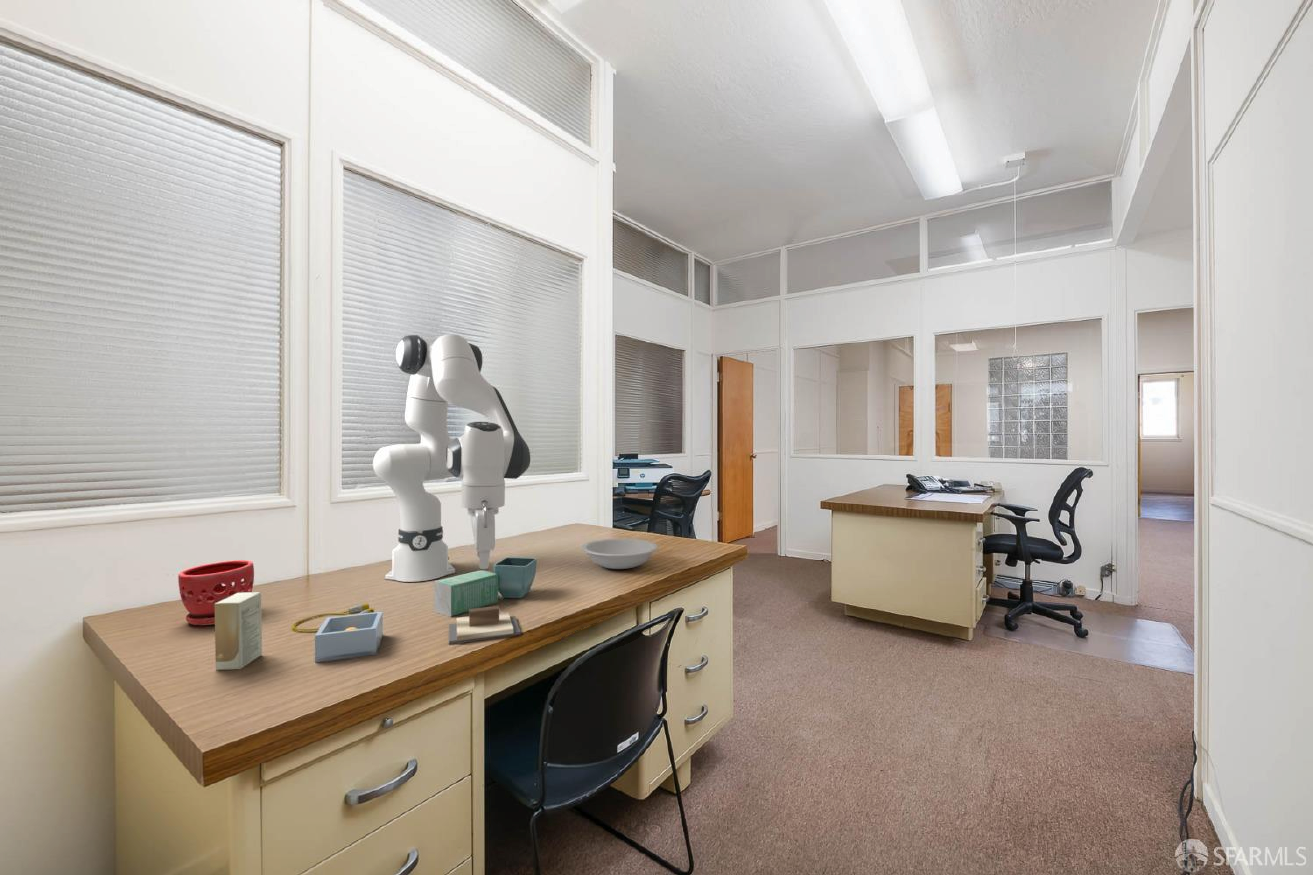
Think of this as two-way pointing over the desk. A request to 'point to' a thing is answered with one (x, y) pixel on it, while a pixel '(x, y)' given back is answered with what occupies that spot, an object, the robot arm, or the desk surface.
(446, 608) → the box
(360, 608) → the extension cord
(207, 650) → the desk surface
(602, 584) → the desk surface
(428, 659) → the desk surface
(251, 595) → the skincare box
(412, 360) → the robot arm
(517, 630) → the rubber mat
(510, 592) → the flower pot
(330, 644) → the blue storage bin
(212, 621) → the plant pot
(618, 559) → the soup bowl
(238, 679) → the desk surface
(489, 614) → the birch lid
